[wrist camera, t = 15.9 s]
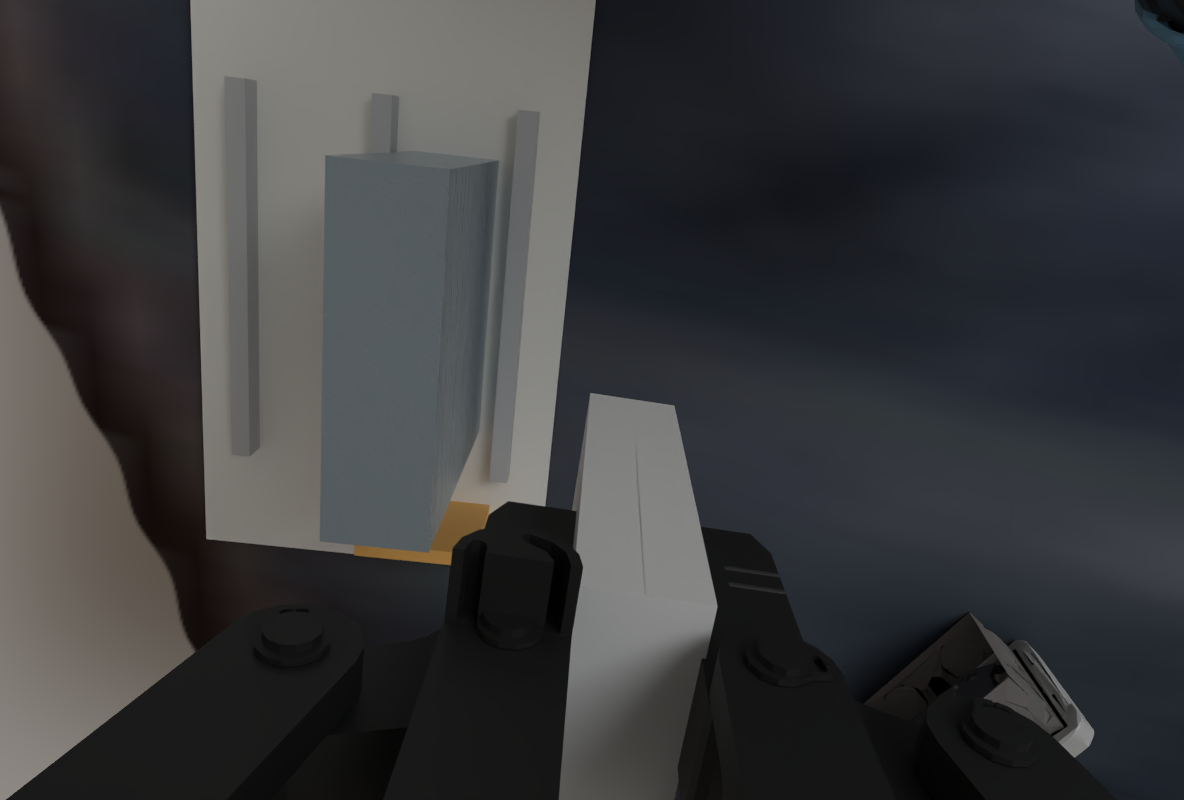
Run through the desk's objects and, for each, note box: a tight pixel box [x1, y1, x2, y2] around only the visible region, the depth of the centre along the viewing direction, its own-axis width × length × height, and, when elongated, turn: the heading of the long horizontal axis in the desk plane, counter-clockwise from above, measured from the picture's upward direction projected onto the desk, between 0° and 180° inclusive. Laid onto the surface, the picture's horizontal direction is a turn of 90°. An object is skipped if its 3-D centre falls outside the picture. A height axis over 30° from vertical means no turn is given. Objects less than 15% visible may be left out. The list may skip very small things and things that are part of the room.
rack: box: [190, 0, 596, 565], centre depth 35 cm, size 26×16×6 cm, turn 174°
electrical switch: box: [864, 613, 1094, 758], centre depth 39 cm, size 9×5×9 cm, turn 138°
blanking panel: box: [320, 151, 499, 553], centre depth 31 cm, size 12×4×12 cm, turn 174°
